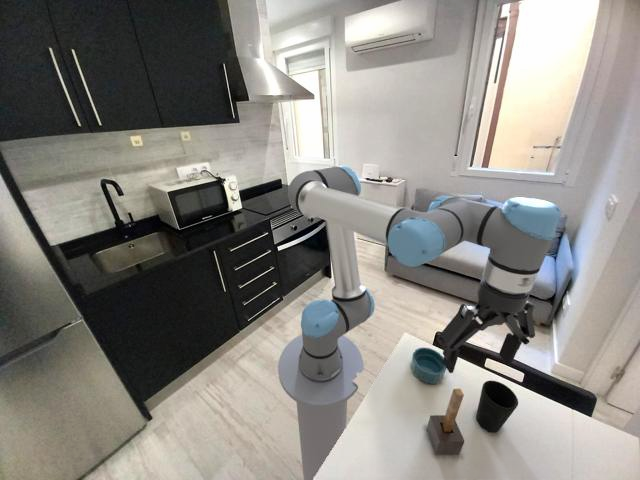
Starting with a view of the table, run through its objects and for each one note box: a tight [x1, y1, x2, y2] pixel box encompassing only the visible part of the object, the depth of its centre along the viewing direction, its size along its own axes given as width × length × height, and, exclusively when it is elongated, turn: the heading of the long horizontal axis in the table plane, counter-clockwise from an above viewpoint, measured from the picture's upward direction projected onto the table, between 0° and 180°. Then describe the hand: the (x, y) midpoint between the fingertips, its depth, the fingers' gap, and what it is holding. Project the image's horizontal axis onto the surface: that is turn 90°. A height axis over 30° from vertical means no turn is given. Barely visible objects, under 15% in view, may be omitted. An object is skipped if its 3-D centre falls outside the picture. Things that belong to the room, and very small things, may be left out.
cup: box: [475, 380, 519, 434], centre depth 68 cm, size 8×8×12 cm
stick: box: [442, 388, 465, 433], centre depth 62 cm, size 2×2×20 cm
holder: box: [426, 414, 465, 456], centre depth 65 cm, size 6×6×6 cm
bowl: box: [410, 347, 447, 385], centre depth 84 cm, size 10×10×5 cm
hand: (476, 363), depth 56 cm, fingers open, 13 cm apart
